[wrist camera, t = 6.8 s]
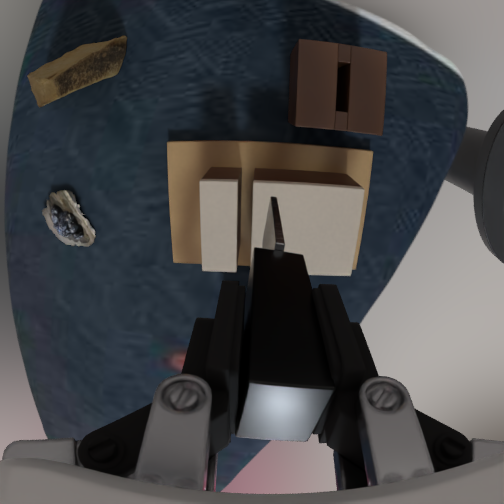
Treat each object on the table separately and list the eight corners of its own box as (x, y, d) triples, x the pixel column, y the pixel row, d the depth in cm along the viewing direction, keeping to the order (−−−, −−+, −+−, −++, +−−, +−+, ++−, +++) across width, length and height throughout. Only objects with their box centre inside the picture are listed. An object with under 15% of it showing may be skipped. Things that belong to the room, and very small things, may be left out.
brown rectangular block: (241, 167, 30) (237, 181, 25) (240, 244, 34) (236, 272, 28) (210, 166, 30) (199, 180, 25) (211, 243, 34) (202, 271, 28)
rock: (26, 128, 27) (90, 140, 26) (-14, 85, 18) (51, 86, 18) (74, 57, 29) (141, 60, 29) (49, 9, 21) (121, 2, 20)
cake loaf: (347, 173, 30) (365, 189, 25) (337, 248, 33) (350, 276, 28) (254, 167, 30) (253, 182, 25) (252, 244, 33) (250, 273, 28)
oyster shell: (60, 177, 32) (52, 182, 30) (108, 221, 34) (101, 227, 32) (39, 218, 34) (31, 224, 32) (83, 259, 36) (76, 266, 34)
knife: (290, 199, 19) (341, 379, 6) (280, 244, 20) (304, 447, 8) (257, 193, 19) (250, 371, 6) (249, 239, 20) (233, 442, 8)
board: (370, 150, 30) (373, 151, 29) (353, 265, 35) (355, 269, 34) (169, 140, 30) (166, 142, 29) (175, 258, 36) (173, 262, 35)
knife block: (361, 62, 26) (387, 52, 20) (357, 129, 29) (382, 135, 23) (290, 53, 26) (298, 38, 20) (287, 122, 29) (295, 126, 23)
